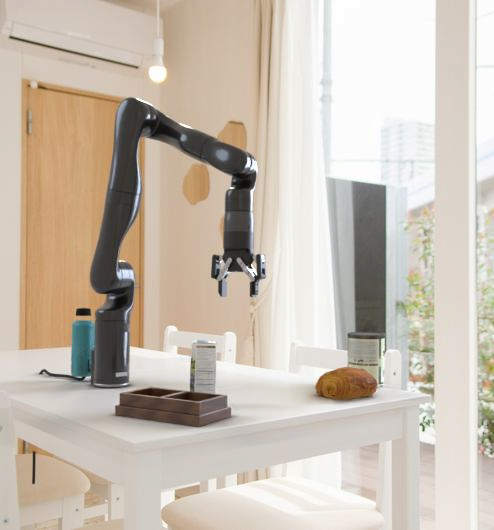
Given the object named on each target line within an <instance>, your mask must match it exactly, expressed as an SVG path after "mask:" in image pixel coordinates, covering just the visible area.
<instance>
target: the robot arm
mask: <svg viewBox="0 0 494 530" xmlns="http://www.w3.org/2000/svg"><path fill="white" fill-rule="evenodd" d="M141 138H143V139H149V140H154V141H157V142H160V143H164V144H167V145H169V146H171V147H173V148H174V149H176V150H177V151H179V152H180V153H182V154H184V155H186V156H188V157H190V158H192V159H193V160H195V161H198V162H200V163H202V164H205V165H207V166H211V167H212V168H214V169H215V170H218V171H220V172H221V173H223V174H225V175H227V176H230V177H231V181H230V188H228V189H227V190H225V193H224V214H223V215H224V216H223V222H222V223H223V224H222V225H223V226H222V229H223V230H222V232H223V233H222V235H223V238H222V248H223V254H222V255H221V254H213V255H212V257H211V271H210V278H211V279H214V280H216V281H217V293H218V295H219V297H220V298H224V297H227V295H228V281H227V280H228V278H229V276H231V274H232V273H244V274H245V275H246V276H247V277H248V279H249V280H250V281H249V298H257V296H258V295H259V285H260V284H259V283H260V281H262V280H265V279H266V278H267V264H266V255H265V254H264V253H257V254H254V248H255V219H254V192H255V189H256V185H257V179H258V171H259V170H258V168H259V167H258V162H257V159H256V157H255V156H254V154H252V153H251V152H249V151H247V150H245V149H242V148H241V147H238V146H235V145H232V144H230V143H227V142H225V141H222V140H221V139H219V138H217V137H215V136H213V135H211V134H208V133H206V132H204V131H202V130H199V129H197V128H195V127H190V126H188V125H185V124H182V123H180V122H178V121H176V120H174V119H172V118H170V117H169V116H167V115H166V114H164V113H163V112H161V110H159V109H158V108H156V107H155V106H153V104H151V103H149V102H147V101H145V100H142V99H140V98H137V97H134V96H133V97H132V96H130V97H126V98H124V99H122V101H121V102H120V103H119V105H118V106H117V109H116V111H115V117H114V127H113V143H112V152H111V153H112V154H111V160H110V169H109V175H108V180H107V186H106V191H105V197H104V204H103V213H102V217H101V222H100V227H99V233H98V239H97V242H96V246H95V250H94V253H93V257H92V260H91V264H90V268H89V269H90V270H89V285H90V287H91V289H92V290H93V292H95V293H96V294H98V295H105V299H104V302H103V303H102V304H101V306H99V307H97V308H96V309H95V311H94V324H95V341H94V348H93V349H92V350H91V364H90V369H88V372H90V373H91V376H90V386H94V387H98V388H123V387H128V386H130V384H131V382H130V370H131V369H130V368H131V367H130V361H131V314H132V312H133V309H134V306H135V294H136V293H135V292H136V273H135V270H134V267H133V266H132V264H131V263H130V262H129V261H127V260H124V259H120V253H121V248H122V245H123V242H124V240H125V238H126V236H127V234H128V233H129V232H130V230H131V228H132V227H133V225H134V224H135V222H136V220H137V219H138V216H139V213H140V210H141V204H142V199H143V191H144V185H143V179H142V178H143V177H142V172H141V168H140V163H139V148H140V143H141ZM222 263H224V265H223V267H222ZM253 263H255V264H256V269H255V268H254V265H253ZM38 374H39V375H43V374H46V375H47V376H49V377H53V378H54V377H55V378H65V379H66V378H67V379H71V380H74V381H78V382H79V381H81V382H82V381H84V380H85V379H86V378H87V377H75V376H72V374H62V373H52V372H49V370H47V369H45V368H43V369H41V370H40V371H39V373H38ZM36 453H37V452H36V451H35V450H32V470H31V472H32V474H31V484H32V485H36V456H37V455H36Z"/></svg>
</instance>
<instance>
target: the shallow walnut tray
mask: <svg viewBox="0 0 494 530" xmlns="http://www.w3.org/2000/svg"><path fill="white" fill-rule="evenodd" d="M118 403H119V404H116V405H114V416H119V417H127V418H134V419H139V420H147V421H155V422H161V423H169V424H177V425H184V426H190V427H199V428H200V427H202V426H205V425H209V424H213V423H215V422H218V421H221V420H224V419H228V418H231V417H232V407H231V406H228V394H221V393H215V394H212V393H203V392H194V391H190V390H184V389H176V388H175V389H174V388H166V387H156V386H148V387H143V388H138V389H134V390H129V391H128V390H127V391H123V392H120V393H119V401H118Z"/></svg>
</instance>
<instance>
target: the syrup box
mask: <svg viewBox="0 0 494 530" xmlns="http://www.w3.org/2000/svg"><path fill="white" fill-rule="evenodd" d="M217 344H218V343H217V341H215V340H210V339H209V340H207V339H197V340H196V339H195V340H192V341H191V349H190V365H189V366H190V368H189V391H194V392H203V393H212V394H216V381H217V380H216V379H217V351H218V350H217V349H218V347H217V346H218V345H217Z"/></svg>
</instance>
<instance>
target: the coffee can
mask: <svg viewBox="0 0 494 530" xmlns="http://www.w3.org/2000/svg"><path fill="white" fill-rule="evenodd" d="M346 336H347V367H353V368H359V369H364V370H366V371H367V372H368V373H370V374H371V375H372V376H373V377H374V378H375V379H376V380H377V388H381V387H384V386H385V351H386V350H385V348H386V347H385V345H386V344H385V337H386V333H384V332H376V331H375V332H374V331H350V332H347V335H346Z"/></svg>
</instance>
